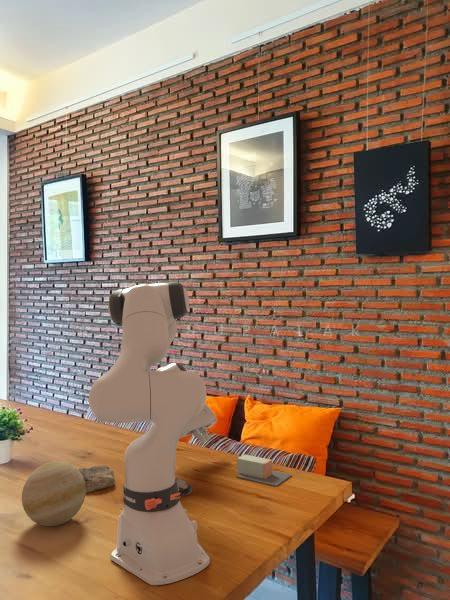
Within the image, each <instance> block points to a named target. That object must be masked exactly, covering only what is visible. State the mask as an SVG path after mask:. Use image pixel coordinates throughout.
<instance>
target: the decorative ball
mask: <svg viewBox="0 0 450 600" xmlns="http://www.w3.org/2000/svg"><path fill="white" fill-rule="evenodd" d="M21 491H22V492H21V505H22V508H23V510H24V512H25V514H26V516H27V517H28V518H29V519H30V520H32V522H34V523H36V524H37V525H40V526H44V527H56V526H60V525H63V524H65V523H67V522H68V521H70V520H71V519H73V518H74V517H75V516H76V515H77V513H78V512H79V511H80V509H81V508H82V506H83V505H84V504H83V503H84V501H85V498H86V494H87V493H86V486H85V481H84V478H83V476H82V474H81V473H80V471H79V470H78V468H77V467H76V466H75V465H73V464H71V463H69V462H66V461H61V460H60V461H59V460H54V461H49V462H46V463H43V464H42V465H40V466H38V467H36V468H35V470H33V471H32V472H31V473H30V475H29V476H28V477H27V478H26V480H25V482H24V485H23V488H22V490H21Z"/></svg>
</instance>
